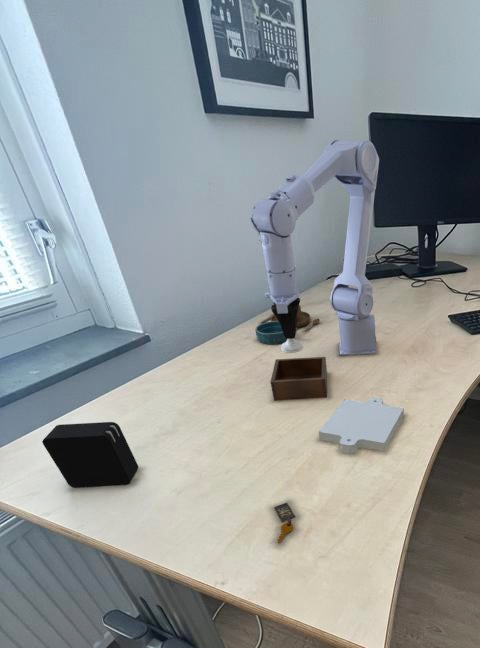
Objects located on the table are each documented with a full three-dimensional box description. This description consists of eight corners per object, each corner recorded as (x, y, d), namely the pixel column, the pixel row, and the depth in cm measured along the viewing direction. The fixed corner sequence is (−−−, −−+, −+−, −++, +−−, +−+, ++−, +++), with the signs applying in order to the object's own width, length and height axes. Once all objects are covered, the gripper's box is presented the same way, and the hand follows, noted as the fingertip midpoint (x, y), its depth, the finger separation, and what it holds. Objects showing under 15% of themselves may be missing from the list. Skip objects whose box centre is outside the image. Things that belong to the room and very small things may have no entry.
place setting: (255, 325, 130) (250, 305, 127) (290, 305, 145) (287, 286, 141) (305, 333, 125) (302, 312, 121) (336, 311, 139) (335, 292, 136)
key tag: (274, 505, 68) (273, 502, 68) (293, 502, 69) (292, 499, 69) (277, 543, 62) (276, 540, 62) (298, 539, 63) (297, 536, 62)
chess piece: (298, 353, 96) (292, 308, 89) (278, 352, 97) (269, 306, 90) (306, 344, 100) (300, 300, 93) (286, 342, 100) (278, 298, 94)
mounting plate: (380, 459, 78) (379, 450, 76) (314, 447, 81) (313, 438, 80) (406, 410, 91) (407, 402, 90) (349, 401, 94) (348, 393, 93)
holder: (327, 374, 104) (325, 356, 102) (327, 397, 96) (325, 378, 93) (278, 377, 104) (275, 359, 101) (274, 400, 95) (270, 382, 92)
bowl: (294, 330, 127) (292, 320, 125) (292, 343, 119) (290, 333, 117) (259, 332, 126) (257, 322, 124) (255, 345, 119) (253, 334, 117)
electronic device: (81, 473, 76) (53, 424, 69) (140, 469, 76) (117, 421, 70) (70, 488, 73) (39, 439, 66) (131, 484, 73) (106, 435, 67)
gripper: (265, 261, 93) (276, 325, 101) (255, 280, 82) (268, 349, 90) (298, 260, 93) (306, 323, 102) (293, 279, 82) (302, 348, 91)
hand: (290, 335), depth 96 cm, fingers closed on chess piece
